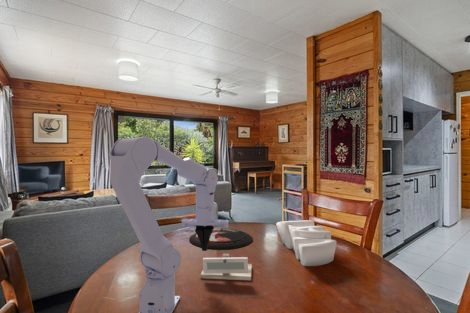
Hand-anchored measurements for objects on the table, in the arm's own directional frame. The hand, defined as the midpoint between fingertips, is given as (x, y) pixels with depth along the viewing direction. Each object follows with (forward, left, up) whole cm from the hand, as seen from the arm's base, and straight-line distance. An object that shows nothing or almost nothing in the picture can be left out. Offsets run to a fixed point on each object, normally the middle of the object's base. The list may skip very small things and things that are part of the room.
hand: (204, 249), depth 76 cm
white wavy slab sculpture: (+26, -35, -10) cm, 45 cm away
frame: (0, -7, -7) cm, 10 cm away
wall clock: (+38, +1, -10) cm, 39 cm away
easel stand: (+5, -6, -9) cm, 13 cm away
